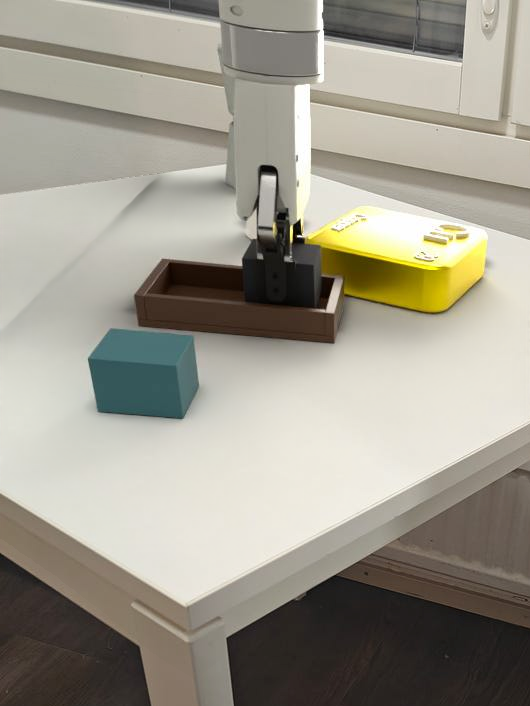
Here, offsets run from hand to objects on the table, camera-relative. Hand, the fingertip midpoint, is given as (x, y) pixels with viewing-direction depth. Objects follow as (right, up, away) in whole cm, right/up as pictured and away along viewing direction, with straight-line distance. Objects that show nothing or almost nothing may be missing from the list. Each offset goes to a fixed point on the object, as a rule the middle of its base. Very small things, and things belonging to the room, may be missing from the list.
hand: (283, 292), depth 79 cm
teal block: (-7, -13, -13) cm, 20 cm away
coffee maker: (-10, +26, +33) cm, 43 cm away
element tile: (+9, +6, +12) cm, 16 cm away
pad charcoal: (0, 0, 0) cm, 0 cm away
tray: (-4, -1, +1) cm, 4 cm away
